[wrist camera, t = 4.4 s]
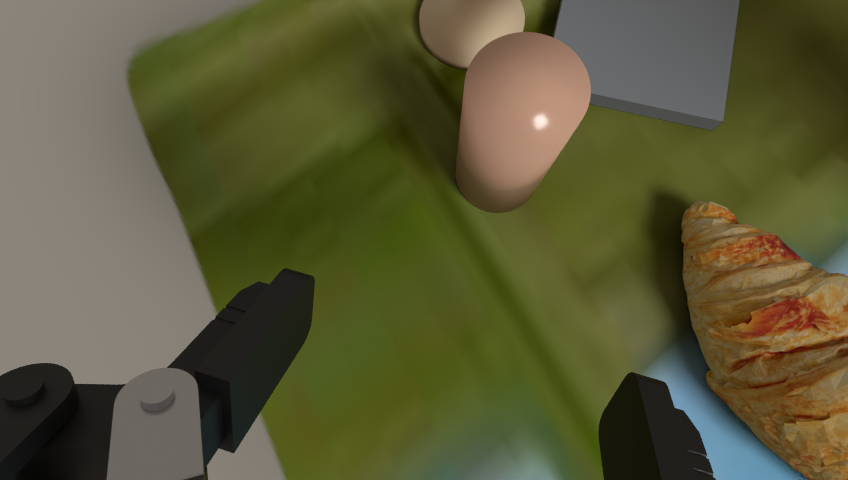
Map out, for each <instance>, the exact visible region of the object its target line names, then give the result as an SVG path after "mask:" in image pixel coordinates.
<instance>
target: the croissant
mask: <svg viewBox="0 0 848 480" xmlns="http://www.w3.org/2000/svg"><path fill="white" fill-rule="evenodd" d="M681 229H682V231H683V232H682V238H681V241H682V243H683V244H684V261H683V273H682V275H683V281H684V287H685V291H686V292H687V298H688V302H687V305H688V307H689V311H690V318H691V323H692V328H693V330H694V332H695V334H696V336H697V339H698V341H699V345H700V348H701V351H702V353H703V356H704V358H705V361H706V363H707V365H708V366H709V368H710V369H711V370H709V371H708V372H707V373H706V381H707V384H708V386H709V387H710V388H711V389H712V391H713V392H714V393H715V394H717V395H718V396H719V397H720V398H721V399H722V400H723V401H724V402H725V403H726V404H727V405H728V406H729V407H730V409H731V410H732V411H733V412H734V413H735V414H736V415H737V416H738V417H739V418H740V419H741V420H743V421H744V422H745V423H746V424H747V425H748V426H749V427H750V429H751V430H752V432H753V433H754V434H755V435H756V436H757V437H758V438H759V439H760V440H761V441H762V443H763V444H764V445H765V446H767V447H768V448H769V449H770V450H772V451H773V452H774V453H775V454H777V455H778V456H779V457H780V458H781V459H783V460H784V461H785V462H786V463H787V464H789V465H790V466H791V467H792V468H793V469H795V470H797V471H799V472H800V473H801V474H803V475H804V476H805V477H806V478H807V479H808V480H848V277H847V276H846V275H844V274H840V273H831V274H829V273H828V272H826V271H825V270H823V269H818V268H815V267H813V266H812V265H811V264H810V263H809V262H807V261H805V260H803V259H802V258H801V257H799V256H798V255H797V254H796V253H795V252H794V251H792V250H791V249H790V248H789V247H788V246H787V245H786V244H785V243H784V242H783V241H782V240H781V239H780V238H779V237H778V236H777V235H775V234H774V233H770V232H764V231H762V230H760V229H757V228H754V227H752V226H751V225H749V224H738V222H737V220H736V218H735V216H734V214H733V213H732V212H730V211H729V210H728V208H726V207H724V206H721V205H719V204H716V203H713V202H711V201H708V202H704V201H696V202H695V203H694V204H693V205H691V206H690V207H689V208H688V209H686V210H685V213H684V215H683V219H682V224H681Z"/></svg>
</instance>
